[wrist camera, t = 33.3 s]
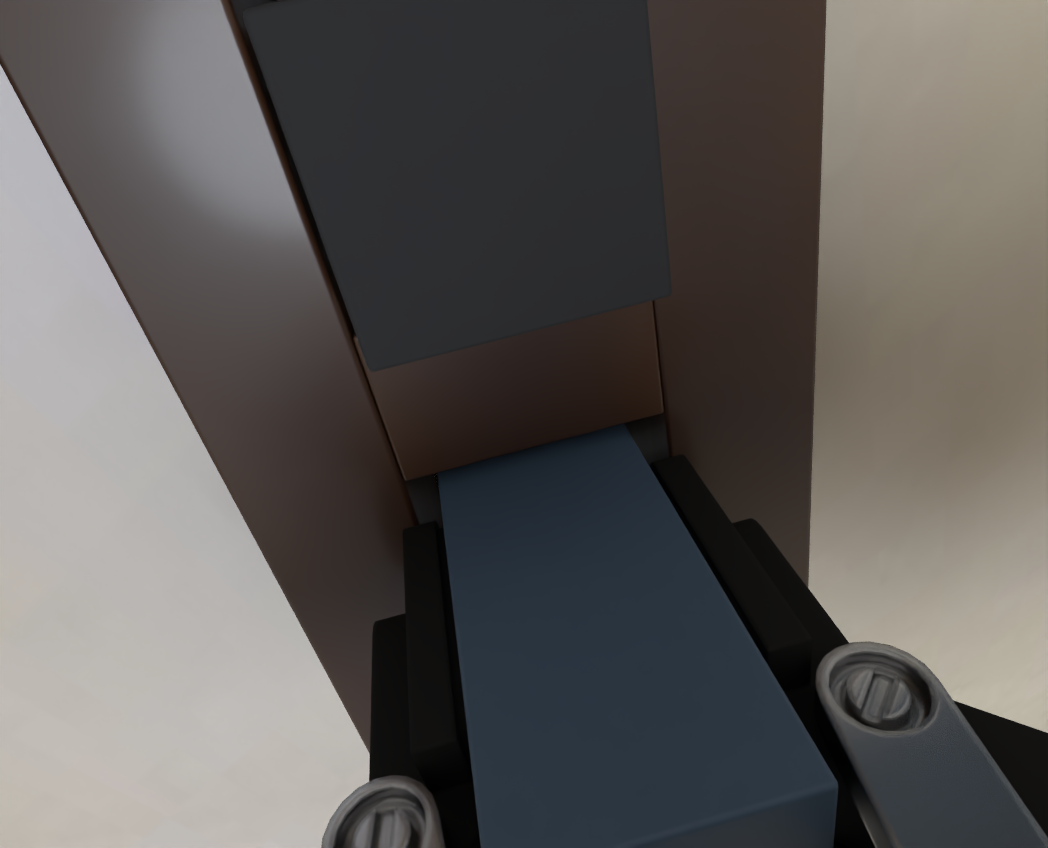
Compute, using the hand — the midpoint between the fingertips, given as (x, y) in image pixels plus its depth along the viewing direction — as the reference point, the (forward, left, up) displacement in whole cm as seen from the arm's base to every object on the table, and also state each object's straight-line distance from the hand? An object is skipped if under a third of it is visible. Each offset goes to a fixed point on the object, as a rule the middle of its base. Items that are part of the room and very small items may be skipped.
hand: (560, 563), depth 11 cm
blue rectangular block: (0, 0, -1) cm, 1 cm away
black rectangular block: (0, -7, -4) cm, 8 cm away
